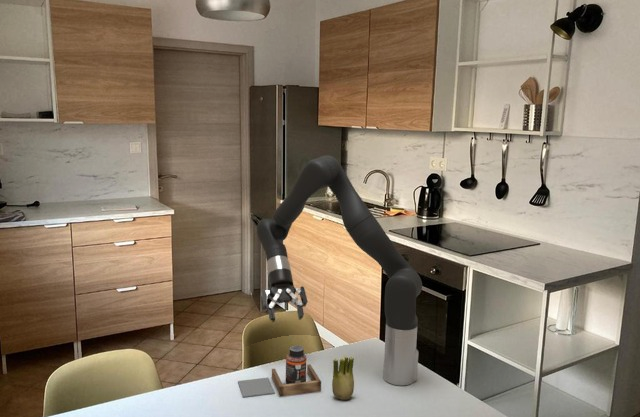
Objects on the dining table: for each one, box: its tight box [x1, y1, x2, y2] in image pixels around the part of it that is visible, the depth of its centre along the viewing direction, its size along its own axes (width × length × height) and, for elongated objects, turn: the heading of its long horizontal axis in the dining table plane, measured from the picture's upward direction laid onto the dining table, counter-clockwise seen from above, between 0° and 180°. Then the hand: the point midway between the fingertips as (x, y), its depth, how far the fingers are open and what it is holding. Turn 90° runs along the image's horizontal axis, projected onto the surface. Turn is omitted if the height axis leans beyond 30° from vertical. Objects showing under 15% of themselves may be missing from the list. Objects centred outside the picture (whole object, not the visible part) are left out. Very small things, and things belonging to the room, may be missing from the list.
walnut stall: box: [271, 364, 322, 398], centre depth 155 cm, size 12×11×3 cm
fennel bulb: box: [331, 355, 355, 401], centre depth 148 cm, size 6×5×12 cm
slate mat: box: [237, 377, 276, 399], centre depth 153 cm, size 9×9×1 cm
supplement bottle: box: [285, 345, 308, 384], centre depth 154 cm, size 6×6×11 cm
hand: (287, 319), depth 163 cm, fingers open, 8 cm apart
